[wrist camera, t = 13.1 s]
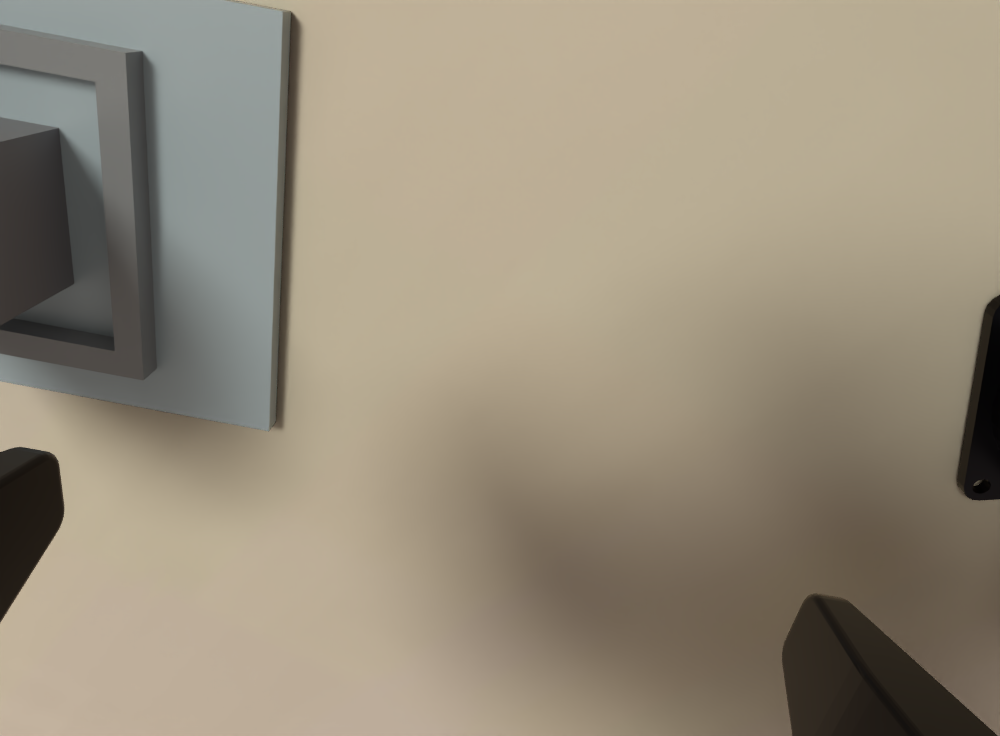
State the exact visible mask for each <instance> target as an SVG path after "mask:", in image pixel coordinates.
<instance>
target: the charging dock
mask: <svg viewBox="0 0 1000 736" xmlns="http://www.w3.org/2000/svg"><path fill="white" fill-rule="evenodd" d="M290 25H291V11H287V10H282V9H276V8H271V7H266V6H260V5H255V4H250V3H245V2H239V1H234V0H0V117H2V118H8V119H13V120H19V121H24V122H29V123H35V124H40V125H46V126H51V127H57V128H59V135H60V144H61V154H62V164H63V174H64V184H65V194H66V204H67V214H68V224H69V234H70V244H71V254H72V264H73V274H74V284H73V285H71V286H70V287H68V288H66V289H64V290H62V291H61V292H59V293H57V294H55V295H54V296H52V297H50V298H48V299H46V300H45V301H43V302H41V303H39V304H38V305H36V306H34V307H32V308H30V309H29V310H27V311H25V312H23V313H22V314H20V315H18V316H16V317H14V318H13V319H11V320H9V321H7V322H6V323H4V324H2V325H0V381H2V382H7V383H13V384H18V385H23V386H29V387H34V388H39V389H45V390H50V391H56V392H61V393H66V394H72V395H77V396H82V397H88V398H93V399H98V400H104V401H109V402H115V403H120V404H125V405H131V406H136V407H141V408H147V409H152V410H157V411H163V412H168V413H174V414H179V415H184V416H190V417H195V418H200V419H206V420H211V421H216V422H222V423H227V424H233V425H238V426H243V427H249V428H254V429H259V430H265V431H270V429H271V428H272V426H273V425H274V423H275V422H276V401H277V375H278V348H279V321H280V294H281V267H282V240H283V213H284V186H285V160H286V133H287V106H288V79H289V52H290Z"/></svg>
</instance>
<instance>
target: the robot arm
mask: <svg viewBox="0 0 1000 736" xmlns="http://www.w3.org/2000/svg"><path fill="white" fill-rule="evenodd" d="M982 479H984V480H983V482H982V483H980V484H979V485H976V486H973V485H974V483H975V482H977V481H978V480H982ZM957 482H958V486H959V487H960V489H961V490H962V491H963V492H964V494H965V495H966V496H967V497H968V498H970V499H972V500H994V499H1000V295H999V296H997V297H996V298H994V299H993V300H992V301H991V302H990V303H989V304H988V306H987V308H986V311H985V316H984V322H983V328H982V334H981V340H980V346H979V352H978V358H977V364H976V370H975V376H974V382H973V388H972V394H971V400H970V406H969V412H968V418H967V425H966V431H965V437H964V443H963V449H962V455H961V461H960V467H959V473H958V479H957ZM63 517H64V500H63V492H62V484H61V476H60V468H59V463H58V460H57V458H56V457H55V455H53V454H52V453H50V452H46V451H40V450H35V449H30V448H23V447H16V448H12V449H9V450H6V451H3V452H0V622H1V621H2V619H3V618H4V616H5V614H6V613H7V611H8V610H9V608H10V606H11V605H12V603H13V602H14V600H15V598H16V597H17V595H18V594H19V592H20V591H21V589H22V587H23V586H24V584H25V583H26V581H27V579H28V578H29V576H30V575H31V573H32V571H33V570H34V568H35V567H36V565H37V563H38V562H39V560H40V559H41V557H42V555H43V554H44V552H45V551H46V549H47V547H48V546H49V544H50V543H51V541H52V540H53V538H54V536H55V535H56V533H57V532H58V530H59V528H60V526H61V523H62V520H63ZM782 663H783V671H784V678H785V685H786V692H787V700H788V707H789V714H790V721H791V729H792V736H997V735H996V734H995V733H994V732H993V731H992V730H991V729H990V728H988V727H987V726H986V725H985V724H984V723H983V722H982V721H981V720H980V719H979V718H977V717H976V716H975V715H974V714H973V713H972V712H971V711H970V710H969V709H967V708H966V707H965V706H964V705H963V704H962V703H961V702H960V701H959V700H957V699H956V698H955V697H954V696H953V695H952V694H951V693H950V692H949V691H947V690H946V689H945V688H944V687H943V686H942V685H941V684H940V683H939V682H938V681H936V680H935V679H934V678H933V677H932V676H931V675H930V674H929V673H928V672H926V671H925V670H924V669H923V668H922V667H921V666H920V665H919V664H918V663H916V662H915V661H914V660H913V659H912V658H911V657H910V656H909V655H908V654H906V653H905V652H904V651H903V650H902V649H901V648H900V647H899V646H898V645H897V644H895V643H894V642H893V641H892V640H891V639H890V638H889V637H888V636H887V635H885V634H884V633H883V632H882V631H881V630H880V629H879V628H878V627H877V626H875V625H874V624H873V623H872V622H871V621H870V620H869V619H868V618H867V617H865V616H864V615H863V614H862V613H861V612H860V611H859V610H858V609H857V608H856V607H854V606H853V605H852V604H851V603H850V602H849V601H847V600H845V599H842V598H838V597H833V596H827V595H822V594H811V595H809V596H808V597H807V598H806V599H805V600H804V602H803V604H802V606H801V608H800V610H799V612H798V614H797V616H796V619H795V621H794V623H793V625H792V627H791V629H790V631H789V633H788V635H787V638H786V640H785V642H784V646H783V652H782Z"/></svg>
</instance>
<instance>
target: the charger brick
mask: <svg viewBox="0 0 1000 736" xmlns="http://www.w3.org/2000/svg"><path fill="white" fill-rule="evenodd" d="M73 284H74V274H73V264H72V254H71V244H70V234H69V224H68V214H67V204H66V194H65V184H64V174H63V164H62V154H61V144H60V135H59V128H57V127H51V126H46V125H40V124H35V123H29V122H24V121H19V120H13V119H8V118H2V117H0V325H2V324H4V323H6V322H7V321H9V320H11V319H13V318H14V317H16V316H18V315H20V314H22V313H23V312H25V311H27V310H29V309H30V308H32V307H34V306H36V305H38V304H39V303H41V302H43V301H45V300H46V299H48V298H50V297H52V296H54V295H55V294H57V293H59V292H61V291H62V290H64V289H66V288H68V287H70V286H71V285H73Z"/></svg>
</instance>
